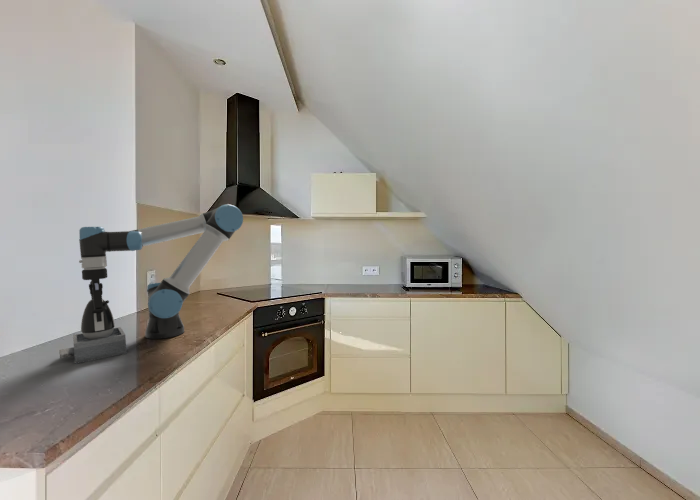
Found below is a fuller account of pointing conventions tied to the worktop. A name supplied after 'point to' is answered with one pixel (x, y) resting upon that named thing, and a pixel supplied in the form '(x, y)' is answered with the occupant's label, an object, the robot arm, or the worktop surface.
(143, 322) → the worktop surface
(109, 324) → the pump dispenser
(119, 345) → the block
